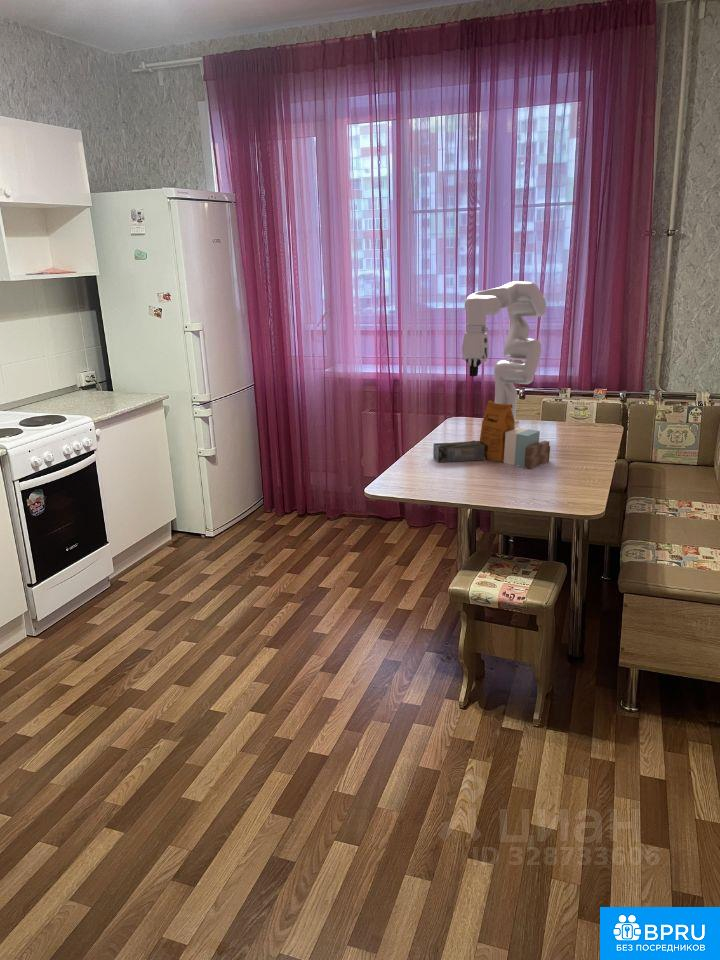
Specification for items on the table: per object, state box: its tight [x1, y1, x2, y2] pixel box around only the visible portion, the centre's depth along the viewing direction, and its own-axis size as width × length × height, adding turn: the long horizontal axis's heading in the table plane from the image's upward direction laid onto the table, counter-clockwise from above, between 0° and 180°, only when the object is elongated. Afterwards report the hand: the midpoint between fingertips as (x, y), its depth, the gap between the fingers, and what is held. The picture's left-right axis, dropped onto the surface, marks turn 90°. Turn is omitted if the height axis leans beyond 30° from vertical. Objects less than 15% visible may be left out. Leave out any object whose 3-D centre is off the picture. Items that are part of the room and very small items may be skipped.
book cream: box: [503, 427, 528, 466], centre depth 281 cm, size 10×4×12 cm, turn 141°
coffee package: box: [479, 399, 516, 463], centre depth 284 cm, size 10×12×22 cm
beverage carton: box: [432, 440, 486, 463], centre depth 284 cm, size 8×19×7 cm, turn 100°
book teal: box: [514, 428, 541, 467], centre depth 278 cm, size 10×4×12 cm, turn 141°
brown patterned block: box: [523, 440, 551, 470], centre depth 282 cm, size 15×20×8 cm
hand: (473, 375), depth 295 cm, fingers closed
